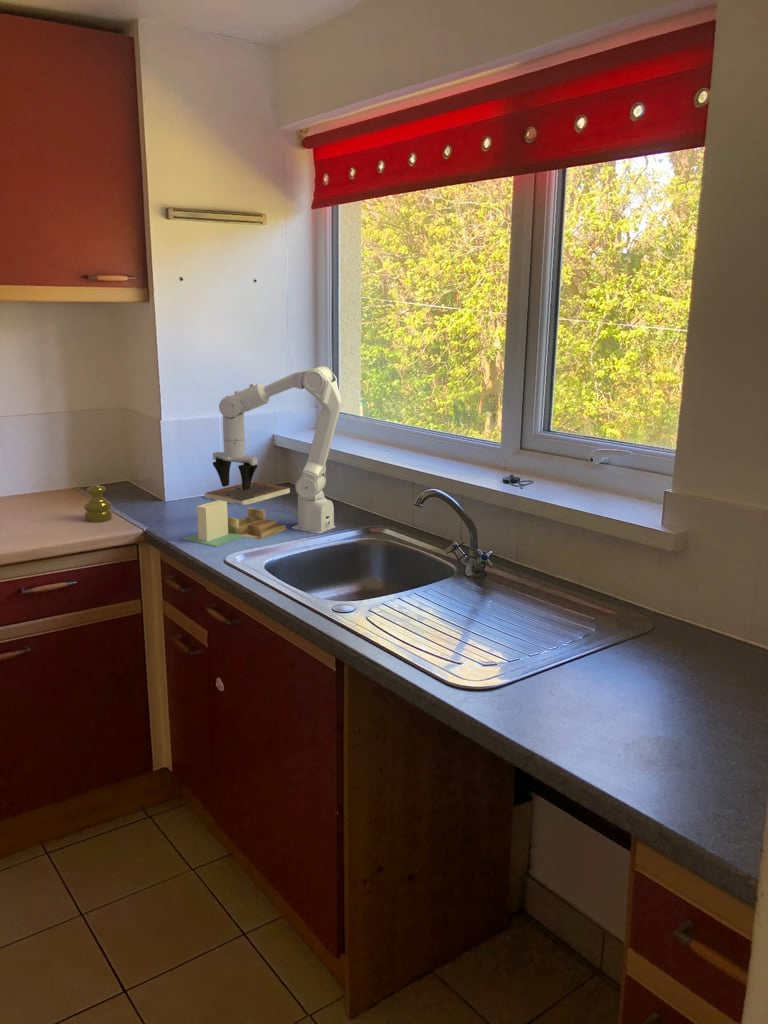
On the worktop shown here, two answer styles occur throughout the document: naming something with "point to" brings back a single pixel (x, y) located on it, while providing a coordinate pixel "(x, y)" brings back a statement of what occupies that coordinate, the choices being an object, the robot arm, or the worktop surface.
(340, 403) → the robot arm
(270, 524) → the offcut upper
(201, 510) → the block
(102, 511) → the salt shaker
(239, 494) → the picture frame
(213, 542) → the pad
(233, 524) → the rack
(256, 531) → the offcut lower
